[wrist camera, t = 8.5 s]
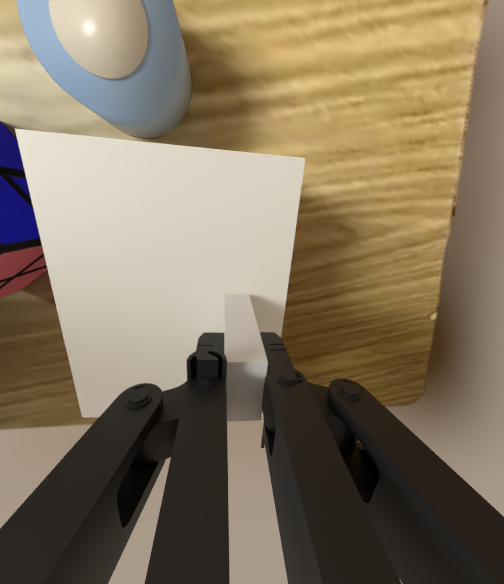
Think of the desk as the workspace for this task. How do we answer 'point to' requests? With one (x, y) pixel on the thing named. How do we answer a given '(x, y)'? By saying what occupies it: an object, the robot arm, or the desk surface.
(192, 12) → the desk surface
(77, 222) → the hinged white flap
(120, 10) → the blue domed cylinder
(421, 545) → the robot arm
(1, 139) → the puzzle cube
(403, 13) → the desk surface
